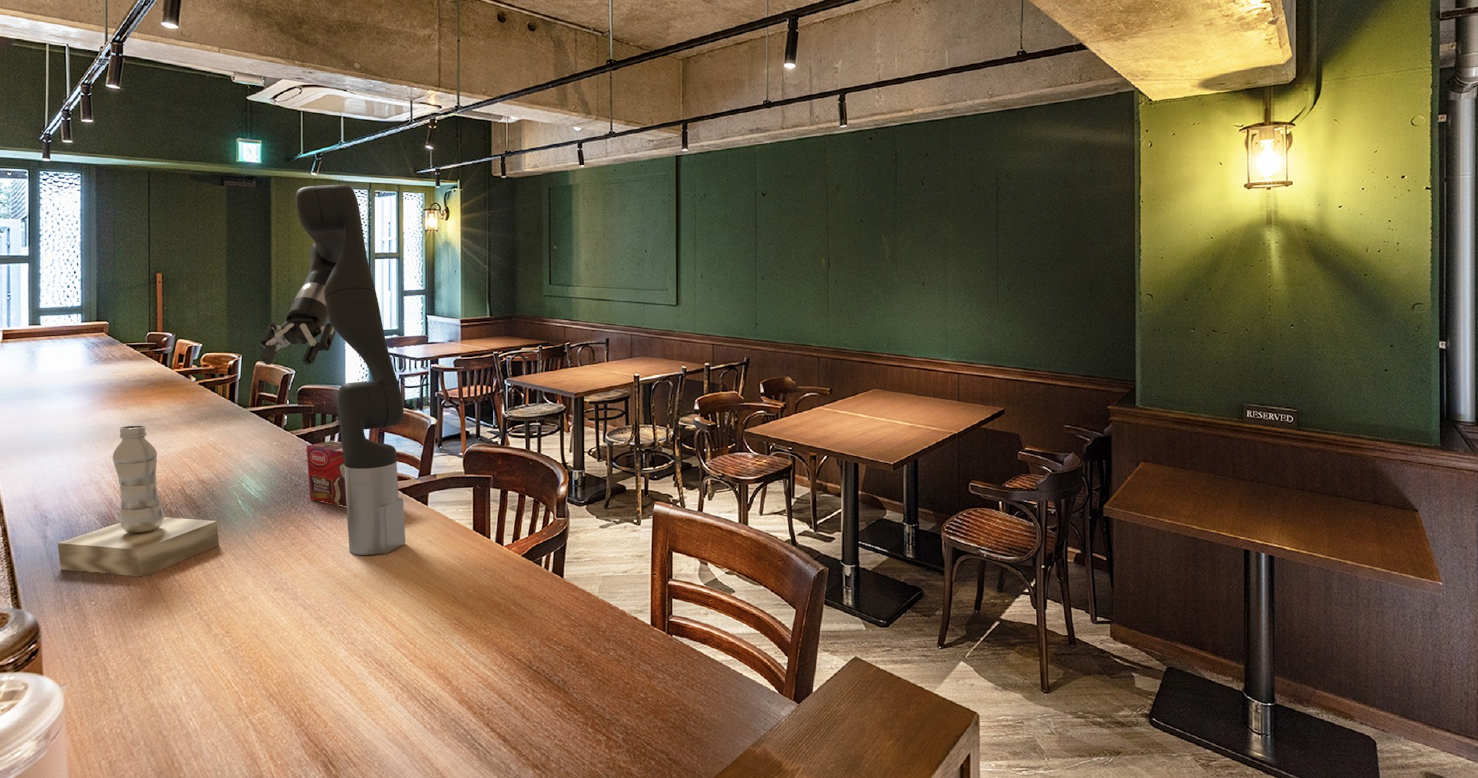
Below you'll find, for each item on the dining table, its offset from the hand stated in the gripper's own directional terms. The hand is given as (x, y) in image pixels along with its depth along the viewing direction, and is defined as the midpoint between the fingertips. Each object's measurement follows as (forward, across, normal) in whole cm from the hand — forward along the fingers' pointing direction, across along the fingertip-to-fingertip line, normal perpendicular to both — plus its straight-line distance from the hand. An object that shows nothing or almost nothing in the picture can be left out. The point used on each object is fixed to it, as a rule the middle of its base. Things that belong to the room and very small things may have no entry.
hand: (286, 362), depth 158 cm
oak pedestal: (+41, -16, +8) cm, 45 cm away
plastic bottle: (+37, -15, +5) cm, 41 cm away
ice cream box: (+16, +6, +34) cm, 38 cm away
